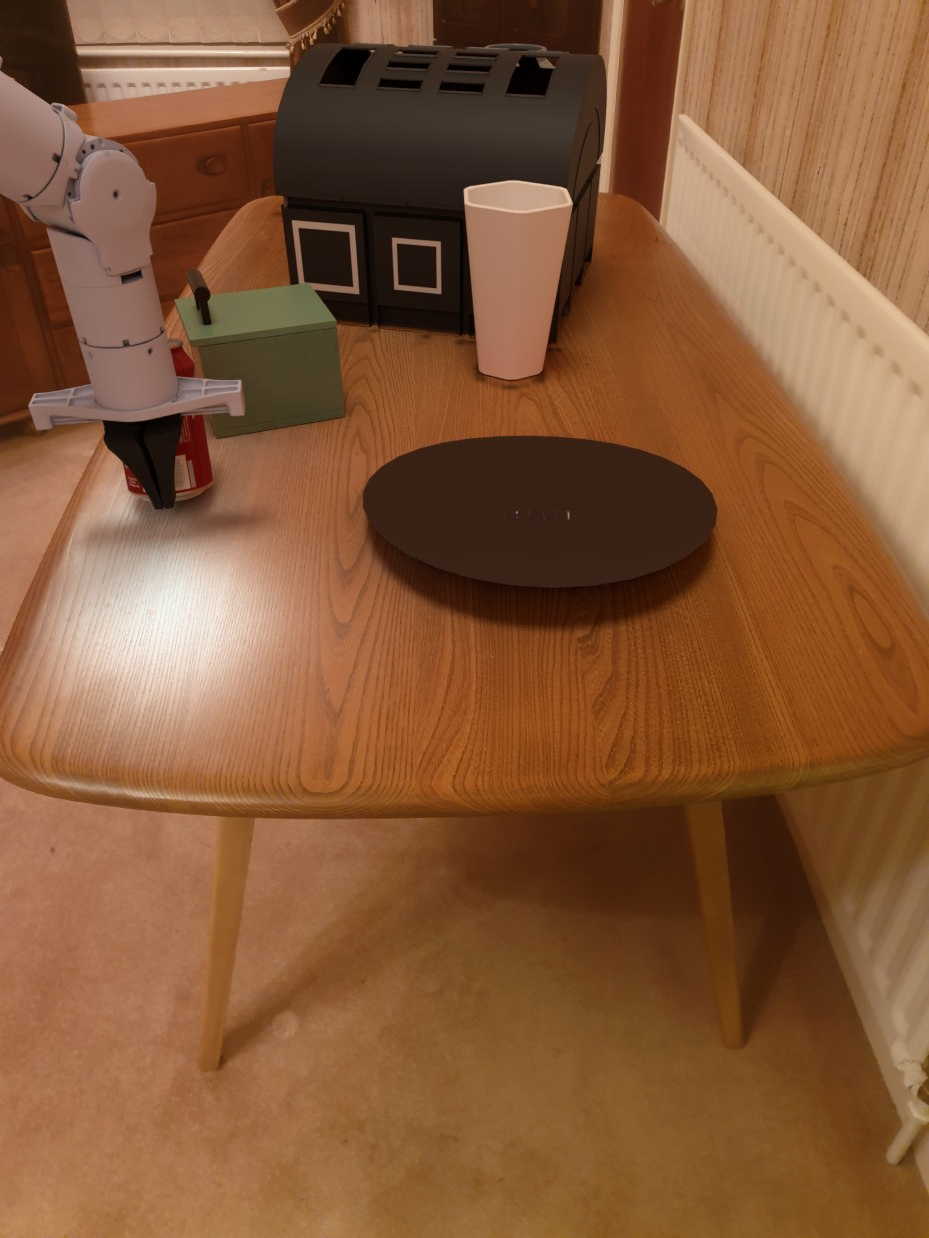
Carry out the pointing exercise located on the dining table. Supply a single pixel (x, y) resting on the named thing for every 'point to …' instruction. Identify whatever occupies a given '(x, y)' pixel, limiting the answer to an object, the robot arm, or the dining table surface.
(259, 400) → the bin
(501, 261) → the cup
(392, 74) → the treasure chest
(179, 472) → the soda can
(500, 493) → the plate
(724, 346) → the dining table surface
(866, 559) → the dining table surface
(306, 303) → the bread bin lid
